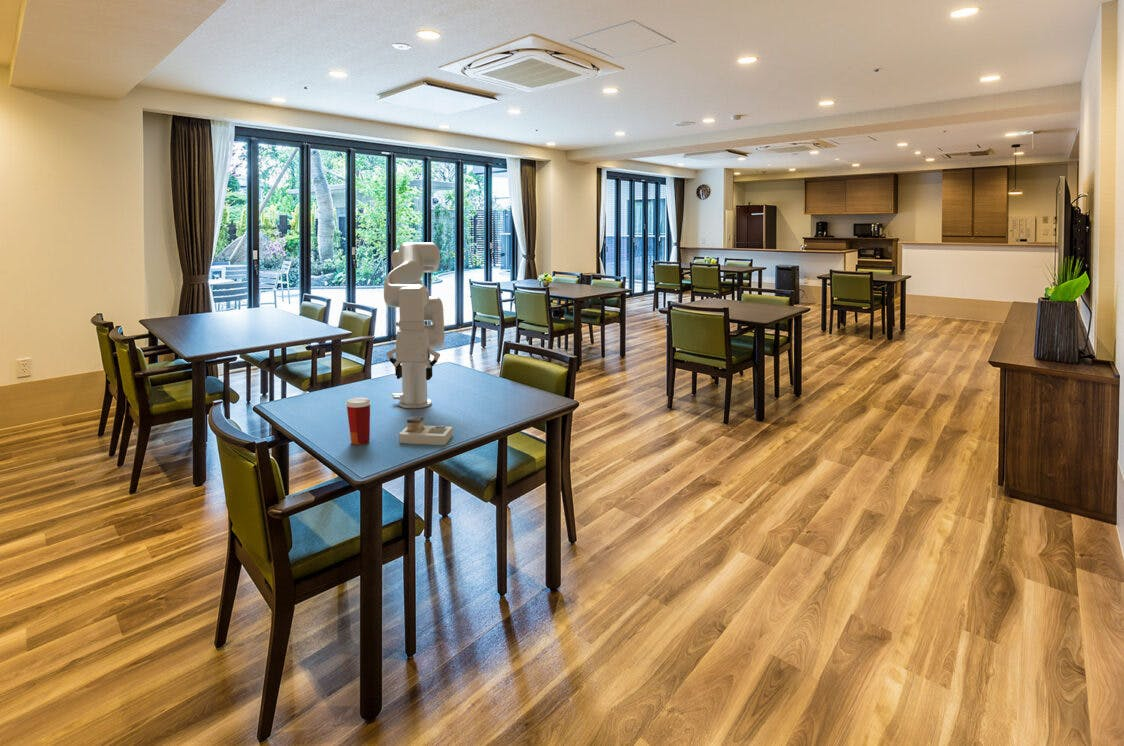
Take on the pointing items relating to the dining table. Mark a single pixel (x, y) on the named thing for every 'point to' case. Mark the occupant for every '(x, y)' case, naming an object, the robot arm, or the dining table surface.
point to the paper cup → (359, 420)
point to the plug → (415, 424)
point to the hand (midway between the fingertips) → (414, 378)
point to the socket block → (427, 435)
